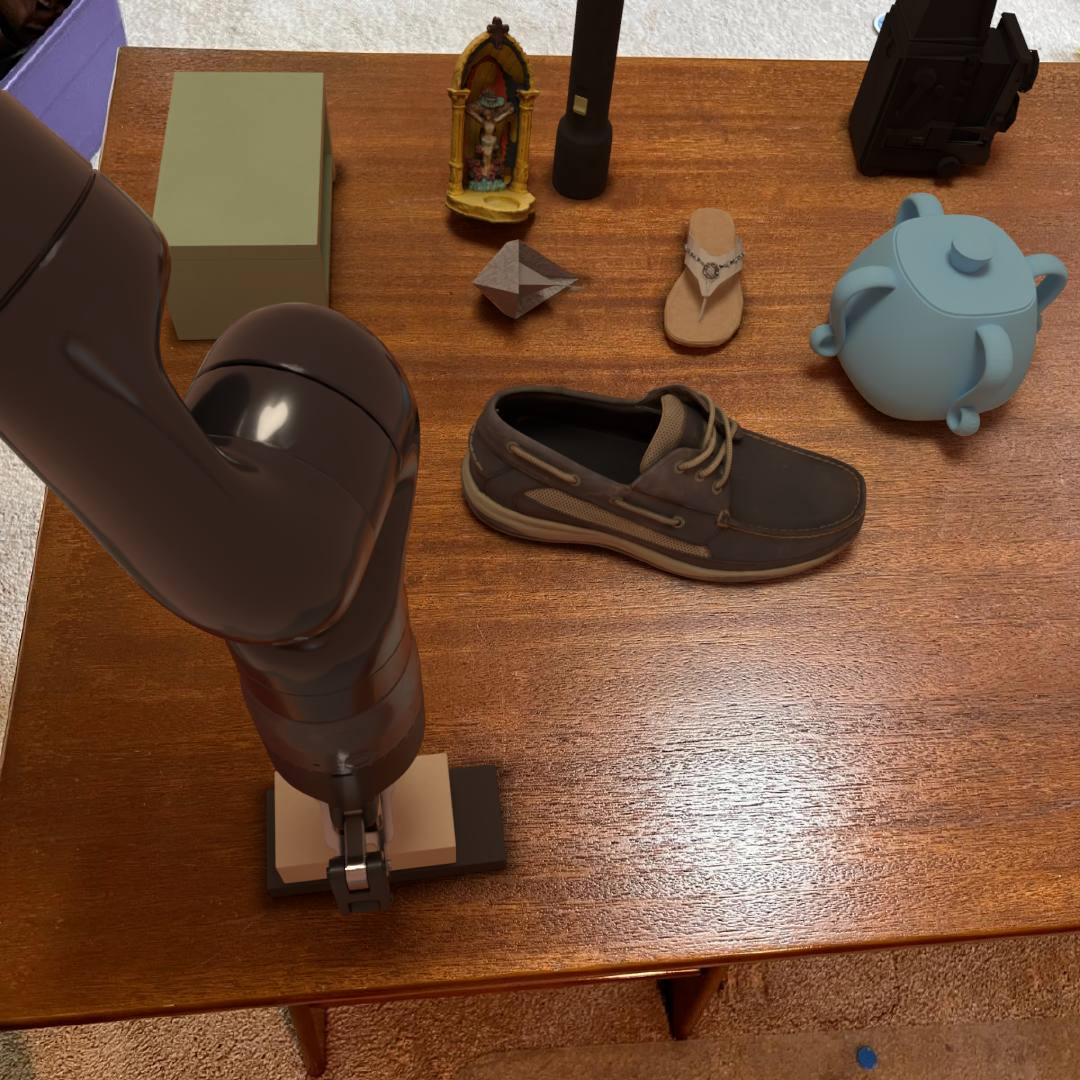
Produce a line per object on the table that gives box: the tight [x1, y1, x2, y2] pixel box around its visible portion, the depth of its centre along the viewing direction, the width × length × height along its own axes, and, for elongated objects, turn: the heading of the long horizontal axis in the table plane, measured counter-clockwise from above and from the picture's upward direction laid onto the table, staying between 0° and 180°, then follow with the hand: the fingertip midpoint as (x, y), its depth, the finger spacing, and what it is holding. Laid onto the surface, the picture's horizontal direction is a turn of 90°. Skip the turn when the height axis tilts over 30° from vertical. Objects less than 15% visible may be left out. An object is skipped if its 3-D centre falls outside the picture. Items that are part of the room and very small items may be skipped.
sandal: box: [663, 207, 746, 349], centre depth 90 cm, size 7×16×5 cm, turn 175°
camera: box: [848, 0, 1041, 179], centre depth 95 cm, size 10×14×20 cm
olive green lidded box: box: [151, 71, 336, 341], centre depth 87 cm, size 20×12×10 cm, turn 5°
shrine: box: [444, 15, 541, 224], centre depth 90 cm, size 12×8×15 cm
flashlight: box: [551, 0, 625, 201], centre depth 89 cm, size 5×24×5 cm
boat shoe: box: [460, 384, 868, 583], centre depth 75 cm, size 11×29×11 cm, turn 86°
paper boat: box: [471, 239, 586, 320], centre depth 88 cm, size 12×6×9 cm
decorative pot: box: [808, 192, 1069, 437], centre depth 84 cm, size 16×16×14 cm
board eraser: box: [265, 752, 508, 898], centre depth 64 cm, size 14×6×6 cm, turn 98°
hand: (366, 804), depth 61 cm, fingers open, 8 cm apart
